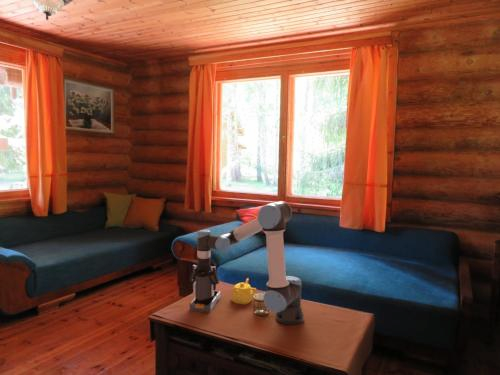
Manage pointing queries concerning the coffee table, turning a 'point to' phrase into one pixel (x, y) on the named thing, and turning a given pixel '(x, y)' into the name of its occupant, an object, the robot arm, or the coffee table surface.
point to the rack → (204, 307)
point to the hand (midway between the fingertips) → (203, 294)
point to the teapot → (242, 293)
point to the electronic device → (203, 288)
